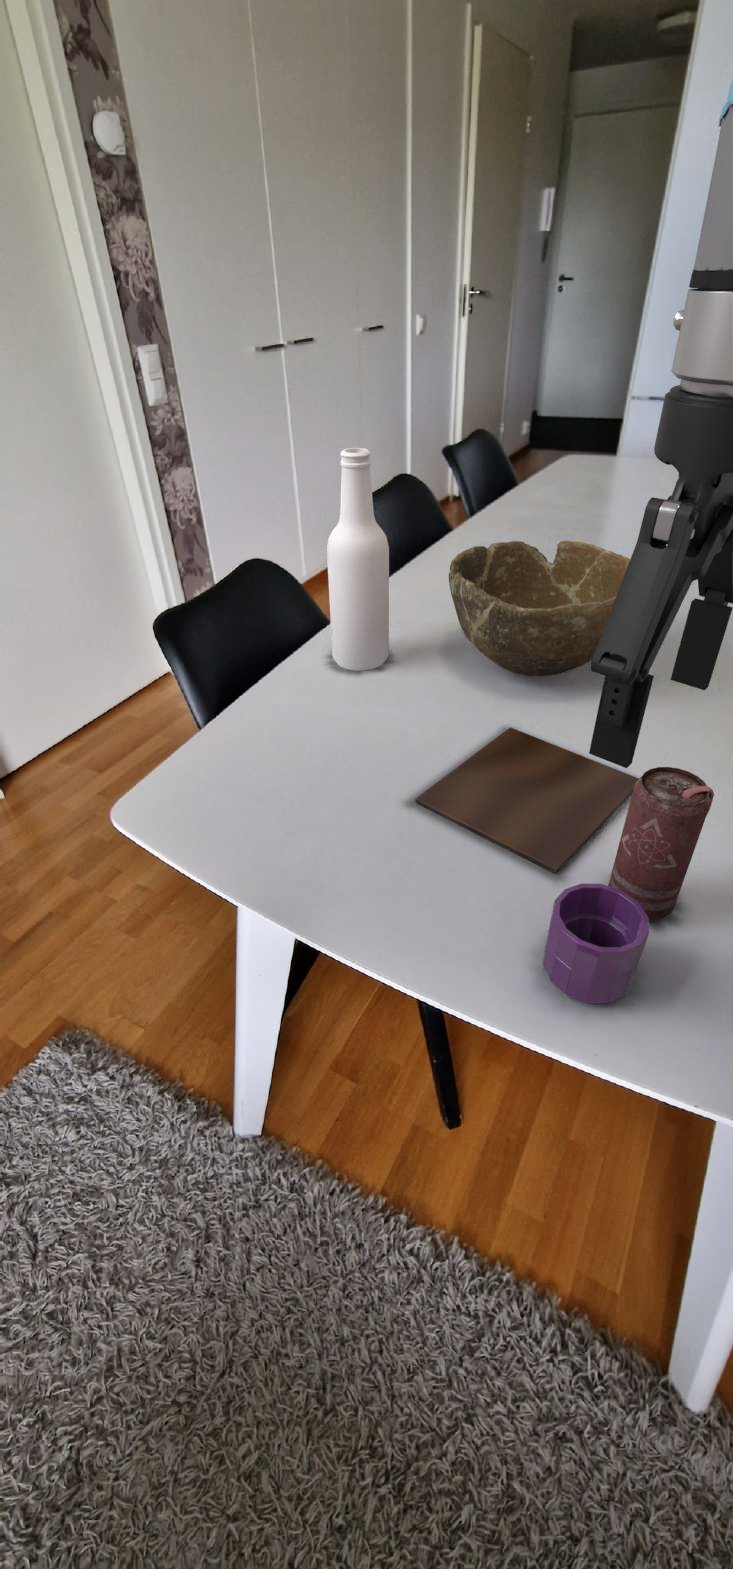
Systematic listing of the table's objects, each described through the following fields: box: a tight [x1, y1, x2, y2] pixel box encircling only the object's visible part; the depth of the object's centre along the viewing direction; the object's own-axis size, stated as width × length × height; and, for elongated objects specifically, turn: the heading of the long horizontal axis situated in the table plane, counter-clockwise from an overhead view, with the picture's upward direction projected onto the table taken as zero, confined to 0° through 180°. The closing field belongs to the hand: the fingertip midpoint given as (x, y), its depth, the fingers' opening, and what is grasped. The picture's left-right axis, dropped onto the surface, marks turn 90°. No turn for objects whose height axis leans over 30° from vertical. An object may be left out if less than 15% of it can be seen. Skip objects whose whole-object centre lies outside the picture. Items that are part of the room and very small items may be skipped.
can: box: [607, 766, 715, 923], centre depth 63 cm, size 6×6×14 cm
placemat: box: [414, 727, 640, 875], centre depth 81 cm, size 18×20×1 cm
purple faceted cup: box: [542, 883, 650, 1004], centre depth 59 cm, size 7×8×7 cm
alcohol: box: [326, 447, 390, 672], centre depth 101 cm, size 9×9×30 cm
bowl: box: [447, 540, 631, 678], centre depth 103 cm, size 28×27×15 cm
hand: (652, 718), depth 51 cm, fingers open, 13 cm apart
